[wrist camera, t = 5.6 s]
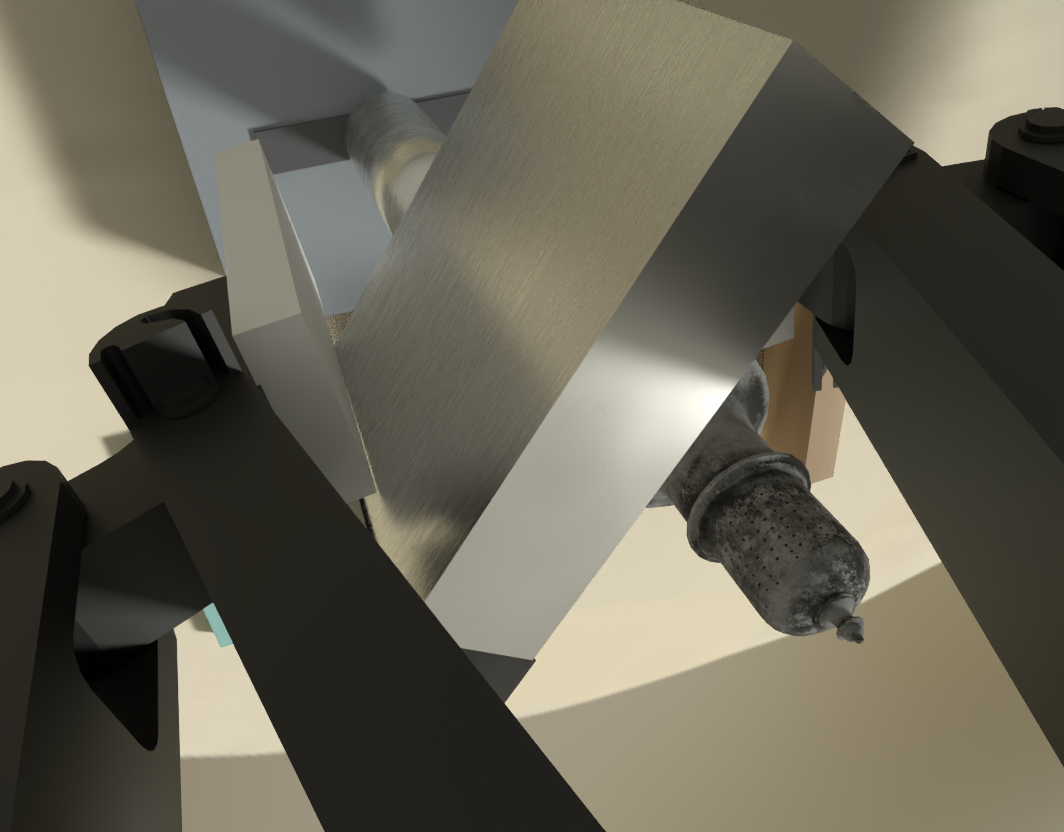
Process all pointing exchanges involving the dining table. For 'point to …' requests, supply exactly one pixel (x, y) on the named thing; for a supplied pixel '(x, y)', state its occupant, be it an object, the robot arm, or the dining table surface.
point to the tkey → (581, 289)
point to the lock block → (313, 102)
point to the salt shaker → (767, 521)
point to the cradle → (801, 402)
